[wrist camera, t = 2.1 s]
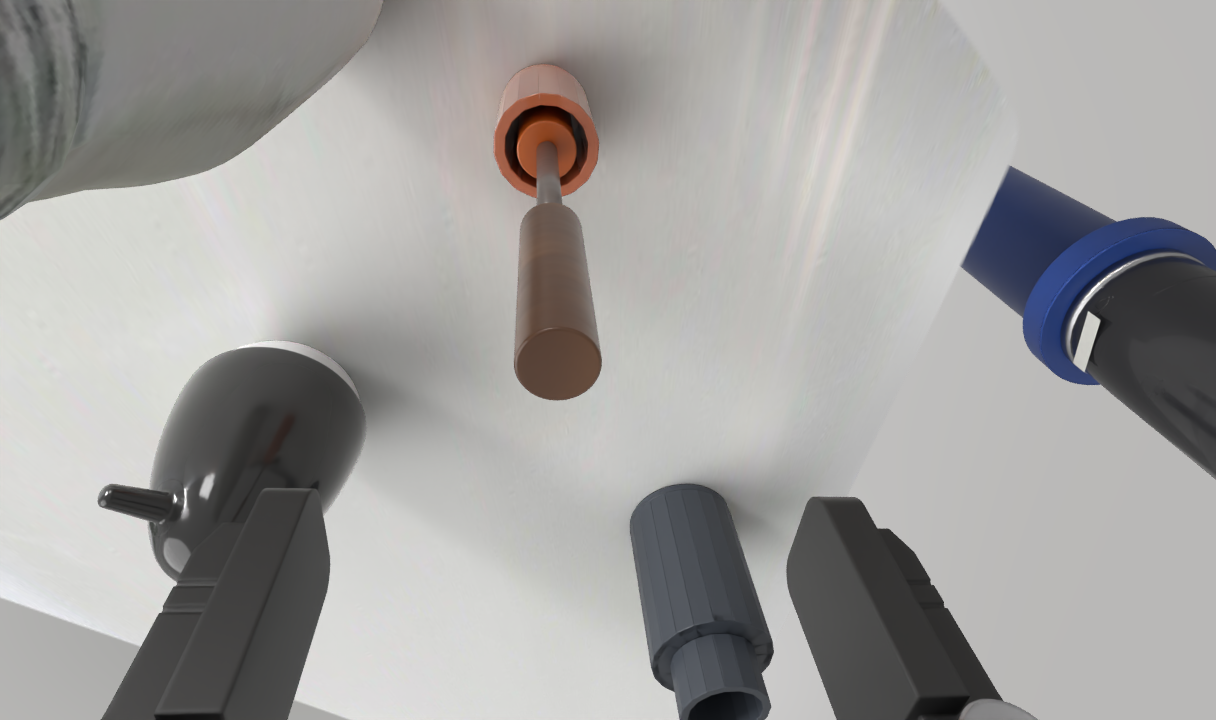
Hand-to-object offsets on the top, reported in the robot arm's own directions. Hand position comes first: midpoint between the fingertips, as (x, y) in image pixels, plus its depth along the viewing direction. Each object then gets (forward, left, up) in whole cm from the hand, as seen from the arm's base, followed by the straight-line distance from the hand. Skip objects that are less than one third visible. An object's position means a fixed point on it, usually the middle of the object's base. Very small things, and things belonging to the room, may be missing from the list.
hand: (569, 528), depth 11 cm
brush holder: (0, 0, -30) cm, 30 cm away
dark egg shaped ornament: (+15, +18, -30) cm, 38 cm away
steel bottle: (-12, +30, -30) cm, 44 cm away
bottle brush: (0, 0, -29) cm, 29 cm away
